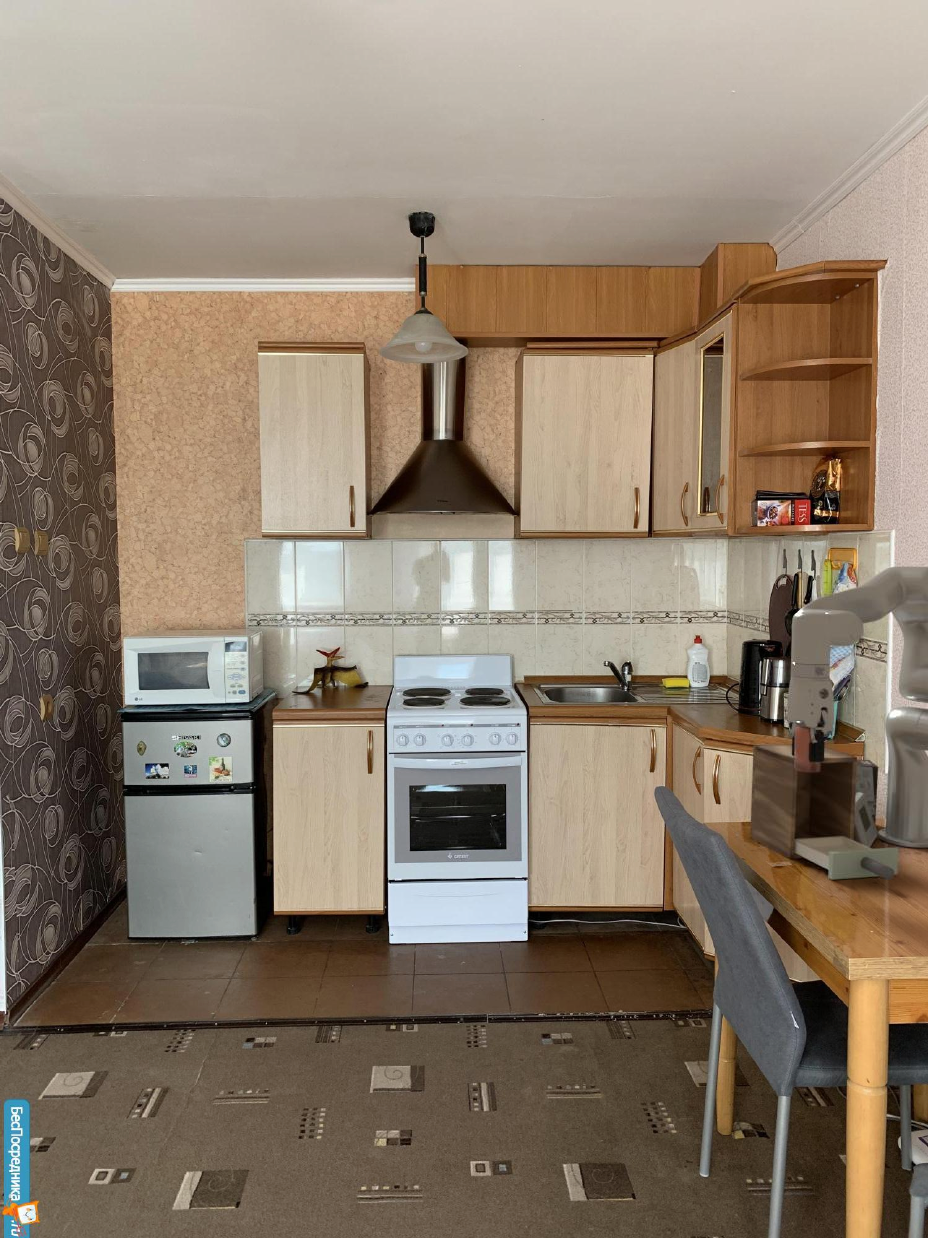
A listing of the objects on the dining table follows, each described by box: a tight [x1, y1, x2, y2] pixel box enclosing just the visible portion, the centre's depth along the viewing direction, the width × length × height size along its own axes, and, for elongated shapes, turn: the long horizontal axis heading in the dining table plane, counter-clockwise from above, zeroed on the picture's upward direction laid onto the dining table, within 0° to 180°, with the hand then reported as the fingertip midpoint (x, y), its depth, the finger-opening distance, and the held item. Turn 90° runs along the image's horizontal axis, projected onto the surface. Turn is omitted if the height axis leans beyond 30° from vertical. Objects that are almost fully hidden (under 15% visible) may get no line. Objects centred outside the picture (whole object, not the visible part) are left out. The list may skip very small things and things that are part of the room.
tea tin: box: [794, 721, 821, 773], centre depth 192 cm, size 5×5×10 cm
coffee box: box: [856, 758, 879, 825], centre depth 229 cm, size 9×6×16 cm
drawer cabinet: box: [749, 743, 858, 860], centre depth 211 cm, size 16×16×22 cm
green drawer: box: [794, 836, 899, 881], centre depth 195 cm, size 16×23×5 cm
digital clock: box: [854, 792, 878, 848], centre depth 215 cm, size 16×9×11 cm, turn 137°
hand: (807, 757), depth 192 cm, fingers closed on tea tin, 5 cm apart
